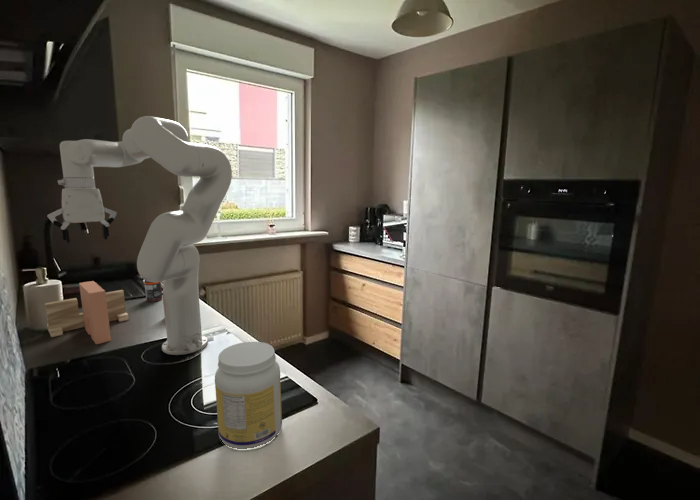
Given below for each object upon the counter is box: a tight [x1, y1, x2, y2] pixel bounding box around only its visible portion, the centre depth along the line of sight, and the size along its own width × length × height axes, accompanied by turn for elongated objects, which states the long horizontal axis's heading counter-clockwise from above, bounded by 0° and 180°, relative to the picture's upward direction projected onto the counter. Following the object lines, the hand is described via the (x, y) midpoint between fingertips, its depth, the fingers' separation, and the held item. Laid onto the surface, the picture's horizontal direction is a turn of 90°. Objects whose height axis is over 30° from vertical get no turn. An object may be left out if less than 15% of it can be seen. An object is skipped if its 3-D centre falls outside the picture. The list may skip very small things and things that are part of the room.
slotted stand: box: [44, 289, 130, 338], centre depth 130 cm, size 8×22×10 cm, turn 134°
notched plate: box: [78, 280, 112, 345], centre depth 121 cm, size 16×4×16 cm, turn 44°
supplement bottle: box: [143, 279, 163, 303], centre depth 156 cm, size 6×6×11 cm
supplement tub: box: [214, 341, 283, 449], centre depth 74 cm, size 12×12×17 cm
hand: (86, 240), depth 117 cm, fingers open, 9 cm apart
